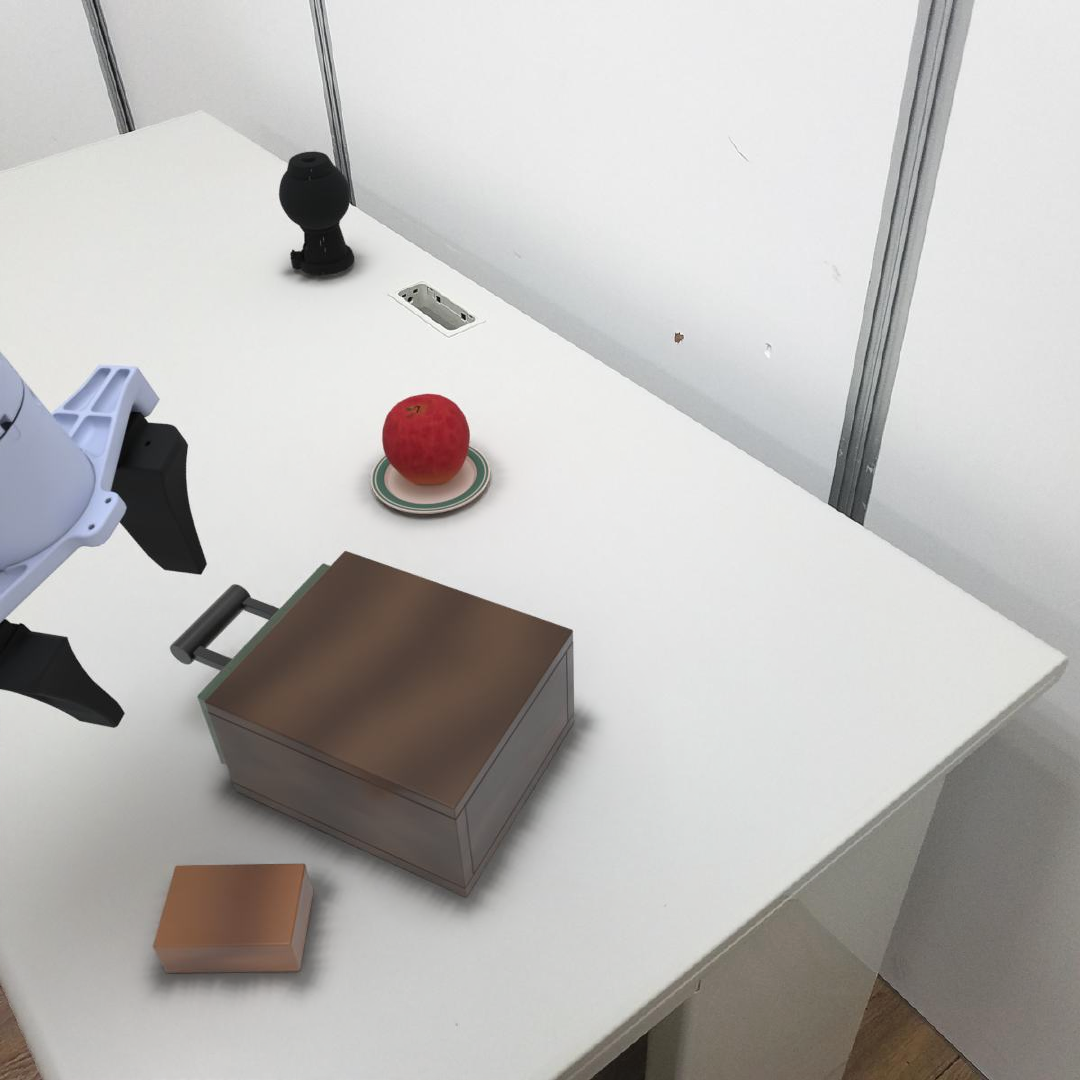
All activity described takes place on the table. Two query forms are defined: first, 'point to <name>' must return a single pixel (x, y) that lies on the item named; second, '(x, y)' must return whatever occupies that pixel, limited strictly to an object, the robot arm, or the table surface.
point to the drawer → (214, 623)
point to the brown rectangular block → (235, 918)
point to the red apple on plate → (428, 457)
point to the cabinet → (398, 716)
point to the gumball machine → (317, 212)
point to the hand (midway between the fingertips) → (145, 638)
